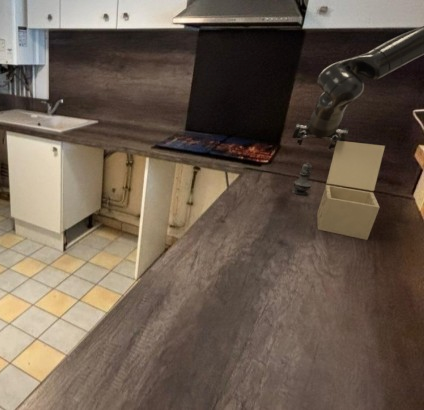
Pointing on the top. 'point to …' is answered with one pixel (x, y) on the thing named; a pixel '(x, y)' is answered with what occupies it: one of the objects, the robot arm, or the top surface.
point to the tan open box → (347, 211)
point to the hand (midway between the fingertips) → (314, 144)
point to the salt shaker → (303, 180)
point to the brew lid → (355, 165)
